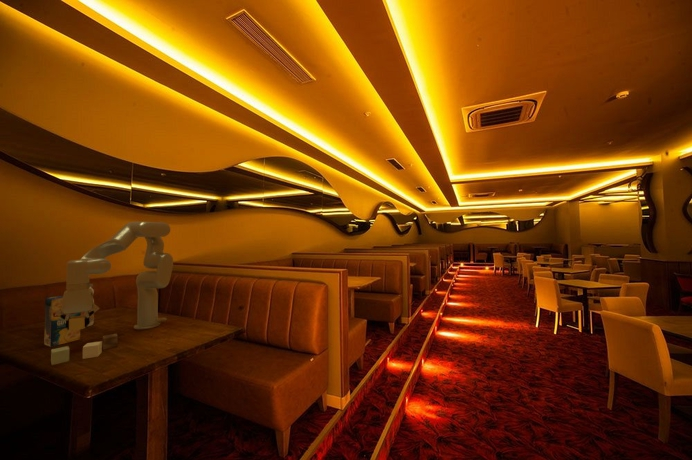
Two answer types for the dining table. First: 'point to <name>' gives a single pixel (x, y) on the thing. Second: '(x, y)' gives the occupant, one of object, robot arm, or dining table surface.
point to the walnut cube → (110, 341)
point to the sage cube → (59, 355)
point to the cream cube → (92, 349)
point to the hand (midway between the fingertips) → (77, 326)
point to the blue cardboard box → (57, 324)
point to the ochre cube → (77, 322)
